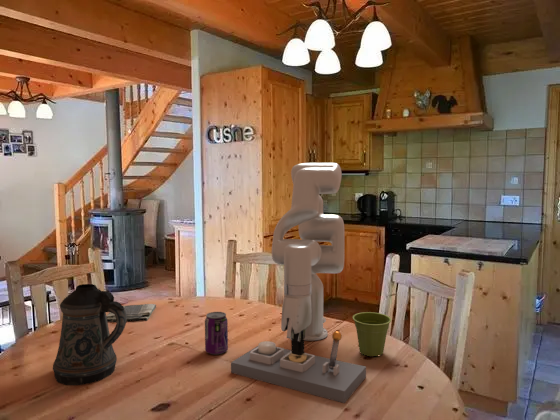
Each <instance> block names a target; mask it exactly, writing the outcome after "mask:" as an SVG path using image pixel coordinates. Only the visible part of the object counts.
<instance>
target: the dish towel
mask: <svg viewBox="0 0 560 420" xmlns="http://www.w3.org/2000/svg"><path fill="white" fill-rule="evenodd" d="M122 306H123V307H124V310H125V312H126V317H127V319H126V323H128V322H129V323H130V322H140V321H145V322H147V321H148V320H149V319H150V317H151V316H152V314H153V312H154V311H155V309H156V308H157V304H155V303H144V304H129V305H122ZM106 317H107V322H108V323H117V320H116V317H115V315H114V314H113V313H111V312H108V313H107V314H106Z"/></svg>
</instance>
